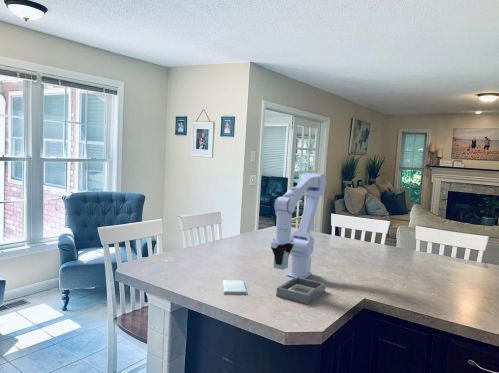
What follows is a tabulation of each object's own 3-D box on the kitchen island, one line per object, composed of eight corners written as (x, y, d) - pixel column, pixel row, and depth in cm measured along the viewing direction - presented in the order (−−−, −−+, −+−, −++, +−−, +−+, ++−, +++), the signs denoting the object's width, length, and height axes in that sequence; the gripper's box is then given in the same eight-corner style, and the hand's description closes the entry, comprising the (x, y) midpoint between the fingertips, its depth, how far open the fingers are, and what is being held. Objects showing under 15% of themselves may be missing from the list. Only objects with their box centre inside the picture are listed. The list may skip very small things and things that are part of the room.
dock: (295, 284, 150) (296, 276, 150) (325, 291, 144) (325, 283, 143) (276, 296, 137) (276, 287, 136) (307, 304, 130) (308, 295, 130)
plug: (278, 265, 151) (279, 248, 151) (287, 267, 149) (288, 250, 148) (273, 267, 148) (274, 250, 147) (282, 269, 146) (283, 252, 145)
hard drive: (246, 291, 137) (243, 279, 149) (223, 291, 136) (222, 279, 148) (246, 296, 137) (243, 284, 149) (223, 295, 136) (222, 283, 148)
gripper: (283, 224, 155) (281, 257, 156) (264, 229, 143) (262, 265, 144) (299, 227, 151) (296, 260, 153) (281, 232, 139) (279, 268, 140)
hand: (281, 263), depth 148 cm, fingers closed on plug, 4 cm apart
